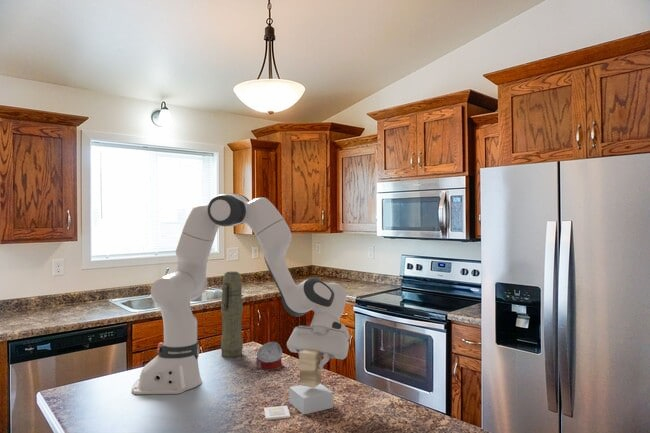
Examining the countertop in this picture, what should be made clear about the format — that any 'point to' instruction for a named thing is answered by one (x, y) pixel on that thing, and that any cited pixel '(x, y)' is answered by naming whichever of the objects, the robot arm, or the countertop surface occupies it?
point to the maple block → (310, 368)
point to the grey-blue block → (310, 398)
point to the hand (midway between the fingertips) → (309, 366)
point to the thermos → (231, 316)
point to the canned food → (269, 356)
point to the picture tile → (276, 412)
